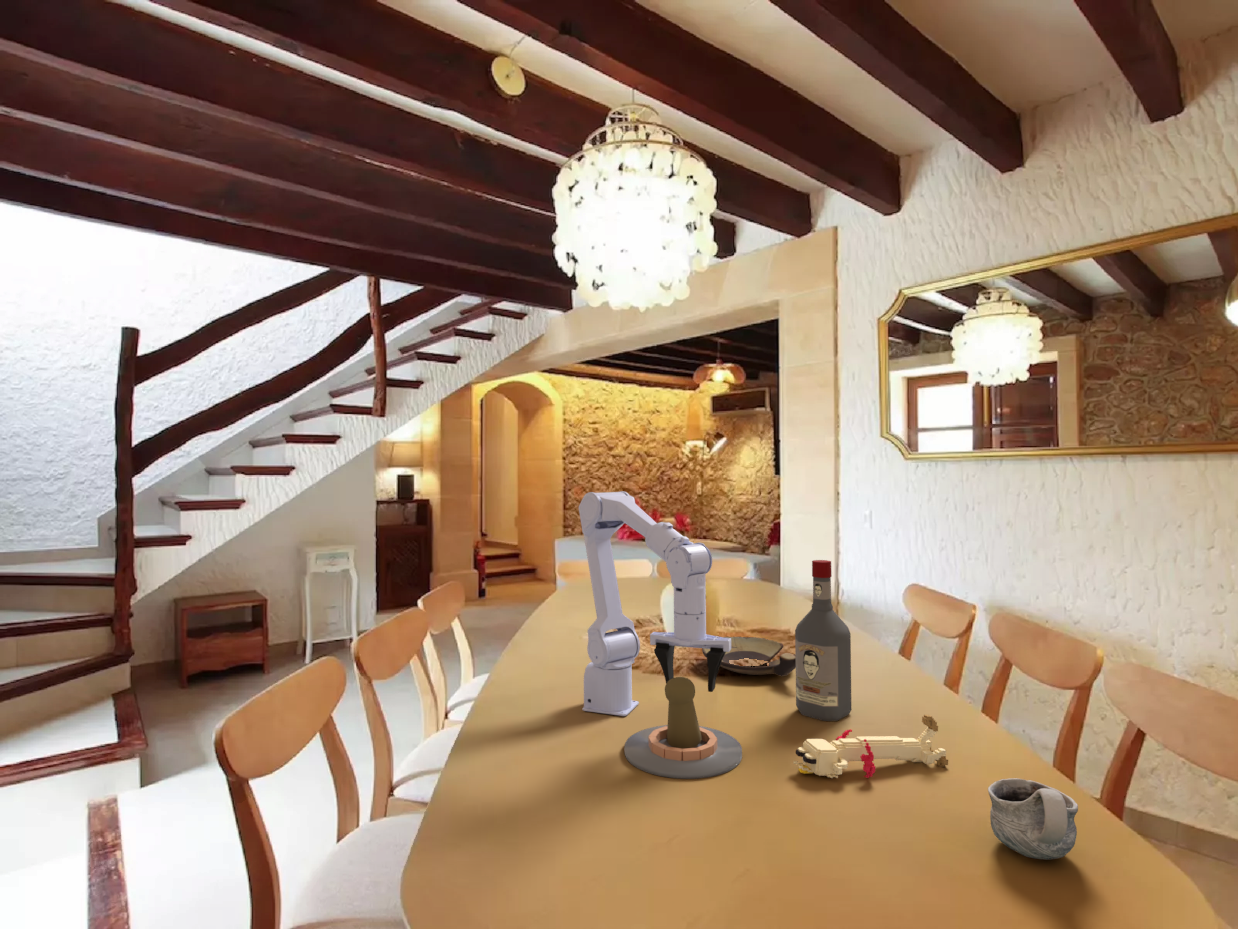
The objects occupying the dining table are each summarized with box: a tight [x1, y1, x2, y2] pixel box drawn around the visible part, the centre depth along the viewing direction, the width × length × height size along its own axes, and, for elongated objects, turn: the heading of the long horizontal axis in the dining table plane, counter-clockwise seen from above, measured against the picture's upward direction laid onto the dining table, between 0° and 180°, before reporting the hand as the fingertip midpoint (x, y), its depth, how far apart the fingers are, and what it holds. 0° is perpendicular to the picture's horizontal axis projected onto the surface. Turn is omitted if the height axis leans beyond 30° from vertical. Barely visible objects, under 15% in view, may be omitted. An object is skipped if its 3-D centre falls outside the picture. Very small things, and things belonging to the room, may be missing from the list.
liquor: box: [794, 559, 853, 722], centre depth 134 cm, size 9×9×30 cm
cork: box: [664, 676, 702, 749], centre depth 116 cm, size 6×6×11 cm
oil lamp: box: [701, 636, 796, 677], centre depth 161 cm, size 22×30×8 cm
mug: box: [987, 777, 1079, 861], centre depth 83 cm, size 10×12×10 cm
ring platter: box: [624, 724, 743, 780], centre depth 115 cm, size 20×20×2 cm
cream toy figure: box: [793, 714, 949, 779], centre depth 109 cm, size 10×9×25 cm
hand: (690, 687), depth 120 cm, fingers open, 7 cm apart
